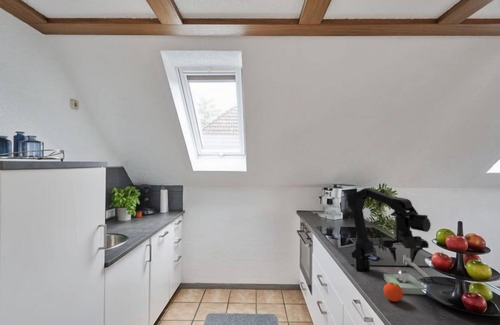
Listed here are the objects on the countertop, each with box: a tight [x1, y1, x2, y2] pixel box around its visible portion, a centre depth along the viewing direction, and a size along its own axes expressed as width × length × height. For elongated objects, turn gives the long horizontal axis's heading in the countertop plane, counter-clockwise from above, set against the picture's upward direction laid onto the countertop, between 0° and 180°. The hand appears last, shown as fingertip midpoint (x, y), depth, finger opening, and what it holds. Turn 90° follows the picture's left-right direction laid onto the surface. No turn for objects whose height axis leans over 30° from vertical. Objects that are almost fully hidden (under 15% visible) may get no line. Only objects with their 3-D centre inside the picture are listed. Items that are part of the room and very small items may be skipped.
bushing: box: [397, 268, 410, 284], centre depth 117 cm, size 4×4×7 cm
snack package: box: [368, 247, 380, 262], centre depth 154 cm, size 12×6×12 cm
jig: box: [383, 273, 428, 295], centre depth 117 cm, size 12×14×2 cm
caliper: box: [402, 253, 430, 278], centre depth 133 cm, size 20×1×6 cm, turn 1°
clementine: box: [383, 282, 404, 303], centre depth 105 cm, size 8×7×7 cm
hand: (403, 261), depth 117 cm, fingers open, 7 cm apart
